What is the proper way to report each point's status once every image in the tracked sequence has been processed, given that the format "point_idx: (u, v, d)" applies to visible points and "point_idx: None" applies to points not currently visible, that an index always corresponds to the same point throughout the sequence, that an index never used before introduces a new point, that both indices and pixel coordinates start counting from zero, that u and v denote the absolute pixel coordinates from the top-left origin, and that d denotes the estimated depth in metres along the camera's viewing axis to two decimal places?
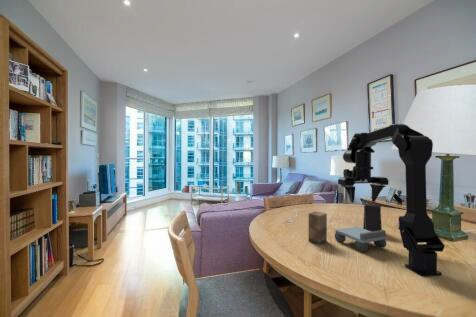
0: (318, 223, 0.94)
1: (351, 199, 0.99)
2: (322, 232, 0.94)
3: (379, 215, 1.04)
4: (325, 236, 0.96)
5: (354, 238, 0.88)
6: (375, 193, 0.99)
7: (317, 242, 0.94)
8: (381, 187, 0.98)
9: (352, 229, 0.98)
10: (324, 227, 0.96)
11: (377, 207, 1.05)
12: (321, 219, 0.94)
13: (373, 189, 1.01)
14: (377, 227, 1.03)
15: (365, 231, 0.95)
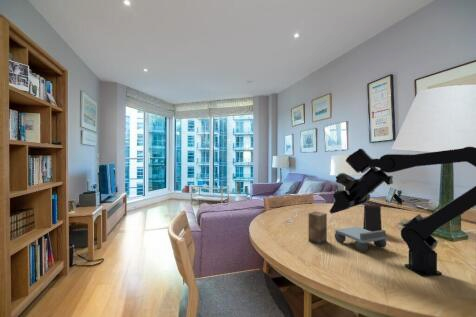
0: (318, 223, 0.94)
1: (333, 211, 0.87)
2: (322, 232, 0.94)
3: (379, 215, 1.04)
4: (325, 236, 0.96)
5: (354, 238, 0.88)
6: None
7: (317, 242, 0.94)
8: None
9: (352, 229, 0.98)
10: (324, 227, 0.96)
11: (377, 207, 1.05)
12: (321, 219, 0.94)
13: None
14: (377, 227, 1.03)
15: (365, 231, 0.95)
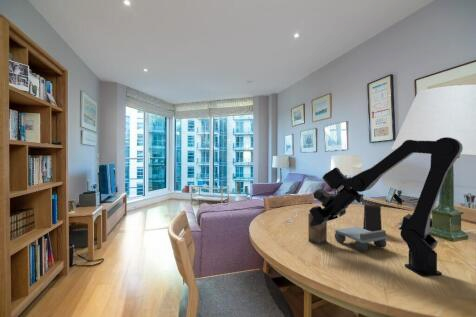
0: None
1: (312, 224, 0.95)
2: (322, 232, 0.94)
3: (379, 215, 1.04)
4: (325, 236, 0.96)
5: (354, 238, 0.88)
6: None
7: (317, 242, 0.94)
8: (334, 218, 0.96)
9: (352, 229, 0.98)
10: (324, 227, 0.96)
11: (377, 207, 1.05)
12: None
13: None
14: (377, 227, 1.03)
15: (365, 231, 0.95)
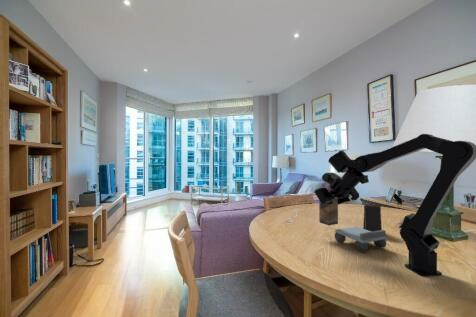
0: None
1: (322, 205, 0.99)
2: (331, 213, 0.97)
3: (379, 215, 1.04)
4: (336, 218, 0.98)
5: (354, 238, 0.88)
6: None
7: (326, 223, 0.98)
8: None
9: (352, 229, 0.98)
10: (334, 210, 0.98)
11: (377, 207, 1.05)
12: None
13: (337, 197, 0.99)
14: (377, 227, 1.03)
15: (365, 231, 0.95)
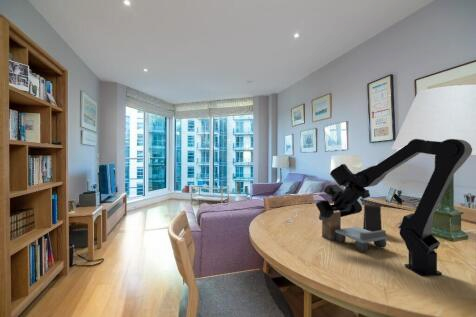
0: (329, 220, 0.98)
1: (320, 218, 0.99)
2: (333, 229, 0.98)
3: (379, 215, 1.04)
4: None
5: (354, 238, 0.88)
6: (343, 214, 1.00)
7: (328, 238, 0.98)
8: None
9: (352, 229, 0.98)
10: (337, 225, 0.98)
11: (377, 207, 1.05)
12: (332, 216, 0.98)
13: None
14: (377, 227, 1.03)
15: (365, 231, 0.95)
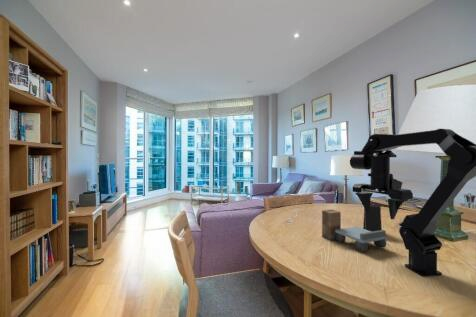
0: (329, 220, 0.98)
1: None
2: (333, 229, 0.98)
3: (379, 215, 1.04)
4: None
5: (354, 238, 0.88)
6: None
7: (328, 238, 0.98)
8: (391, 202, 0.78)
9: (352, 229, 0.98)
10: (337, 225, 0.98)
11: (377, 207, 1.05)
12: (332, 216, 0.98)
13: None
14: (377, 227, 1.03)
15: (365, 231, 0.95)
